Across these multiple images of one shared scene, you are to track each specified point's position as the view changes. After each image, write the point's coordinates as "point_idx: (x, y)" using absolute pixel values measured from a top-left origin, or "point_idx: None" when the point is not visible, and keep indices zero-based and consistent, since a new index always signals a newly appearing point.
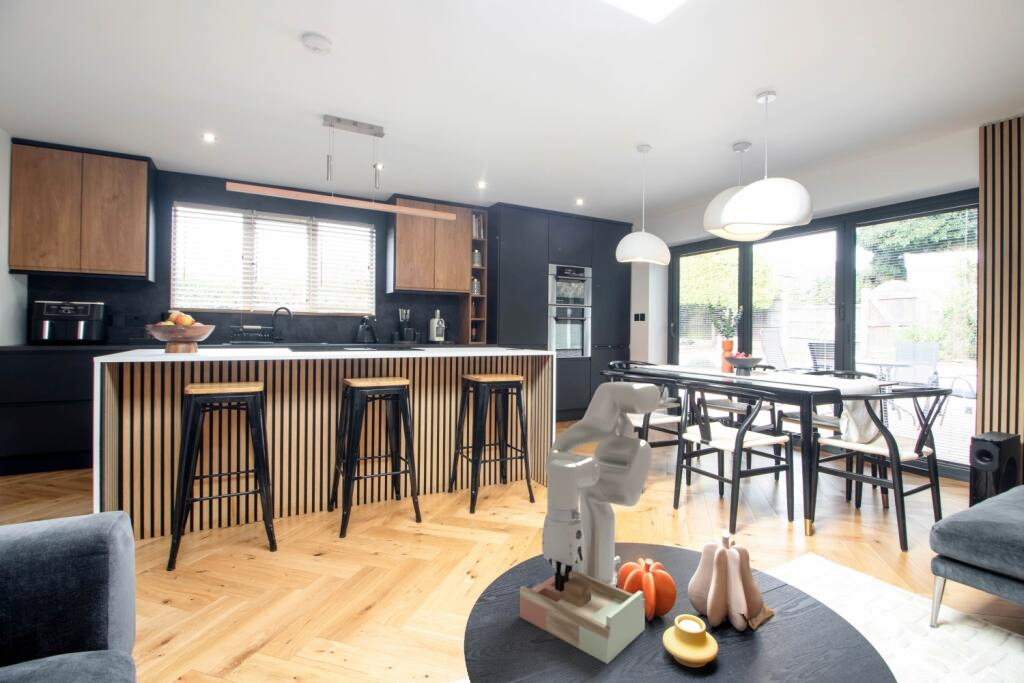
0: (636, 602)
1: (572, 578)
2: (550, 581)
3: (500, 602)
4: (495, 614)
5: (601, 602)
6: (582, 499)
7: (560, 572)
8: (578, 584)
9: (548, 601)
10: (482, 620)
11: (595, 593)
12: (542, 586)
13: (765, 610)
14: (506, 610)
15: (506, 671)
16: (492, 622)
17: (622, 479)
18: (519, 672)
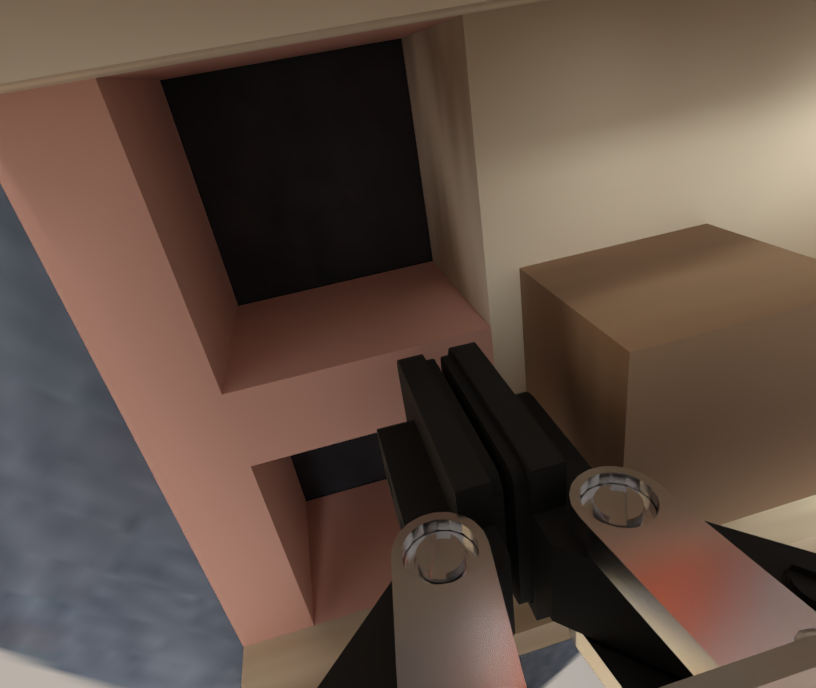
0: None
1: (631, 424)
2: (151, 348)
3: (28, 571)
4: (161, 627)
5: (805, 168)
6: None
7: (577, 643)
8: (764, 446)
9: (561, 636)
10: (184, 685)
11: (689, 75)
12: (213, 473)
13: None
14: (150, 570)
15: (538, 679)
16: (229, 654)
17: None
18: (573, 651)
